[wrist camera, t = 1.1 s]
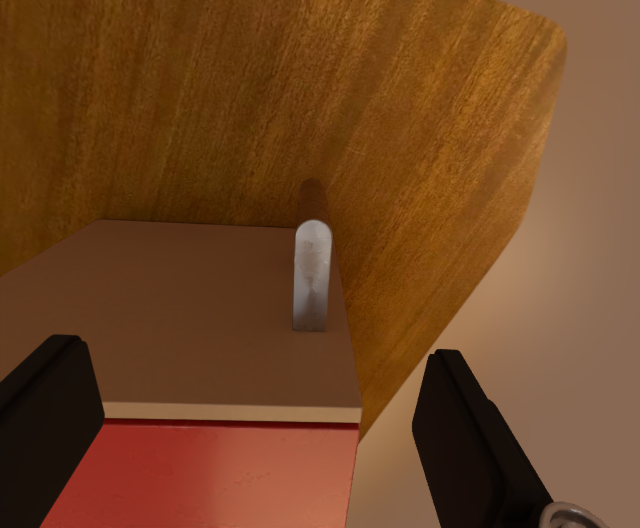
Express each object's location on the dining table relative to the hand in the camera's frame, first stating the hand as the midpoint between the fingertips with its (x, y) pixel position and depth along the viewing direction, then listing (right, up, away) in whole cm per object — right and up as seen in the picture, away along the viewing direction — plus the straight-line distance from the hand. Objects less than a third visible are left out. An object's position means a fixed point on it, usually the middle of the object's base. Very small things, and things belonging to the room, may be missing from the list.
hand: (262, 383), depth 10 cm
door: (-9, +10, +26) cm, 29 cm away
